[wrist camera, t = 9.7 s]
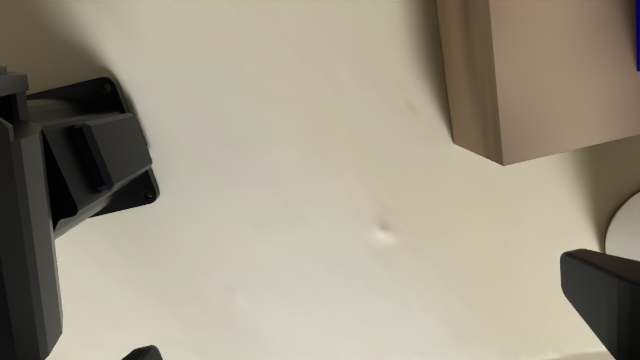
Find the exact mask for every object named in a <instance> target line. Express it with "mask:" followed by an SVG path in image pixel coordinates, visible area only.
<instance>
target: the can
mask: <svg viewBox="0 0 640 360" xmlns="http://www.w3.org/2000/svg"><path fill="white" fill-rule="evenodd" d="M605 247H606V254H610V255H614V256H619V257H623V258H628V259H632V260H637V261H640V192H638V193H636V194H635V195H633V196H632V197H630V198H629V199H628V200H627V201H625V202H624V203H623V204H622V205H621V206H620V208H619V209H618V210H617V211H616V213H615V214H614V216H613V217H612V219H611V221H610V223H609V225H608V228H607V232H606V237H605Z"/></svg>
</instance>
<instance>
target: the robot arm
mask: <svg viewBox="0 0 640 360" xmlns="http://www.w3.org/2000/svg"><path fill="white" fill-rule="evenodd" d="M105 83H108V84H109V85H110V86H111V91H110V92H109V93H108V92H107V91H106V90H105V88H104V86H105ZM28 90H29V87H28V79H27V74H24V73H14V72H7V67H6V66H0V360H45V359H46V358H47V357H48V356H49V354H50V353H51V351H52V349H53V348H54V346H55V344H56V343H57V341H58V339H59V337H60V336H61V334H62V327H63V311H62V302H61V294H60V285H59V276H58V268H57V259H56V250H55V242H54V240H55V239H57V238H58V237H60V236H61V235H63V234H64V233H66V232H67V231H69V230H70V229H72V228H73V227H75V226H76V225H78V224H79V223H81V222H83V221H84V220H86V219H87V218H91V217H95V216H100V215H104V214H108V213H112V212H117V211H121V210H125V209H129V208H134V207H138V206H142V205H146V204H151V203H153V202H154V201H156V200H157V199H158V197H159V195H160V192H159V188H158V185H157V183H156V180H155V178H154V175H153V172H152V170H151V165H152V159H151V156H150V154H149V151H148V148H147V146H146V143H145V140H144V138H143V135H142V132H141V130H140V127H139V124H138V122H137V119H136V117H135V116H134V115H132V114H131V113H130V111H129V109H128V106H127V103H126V101H125V98H124V95H123V93H122V90H121V87H120V85H119V83H118V81H116V80H115V79H114V78H111V77H100V78H96V79H92V80H88V81H84V82H79V83H75V84H71V85H67V86H63V87H59V88H55V89H51V90H47V91H43V92H38V93H34V94H30V95H26V91H28ZM145 190H149V191H150V192H151V193H152V197H149V196H147V195H146V194H145ZM560 273H561V287H562V291H563V293H564V295H565V297H566V298H567V299H568V301H569V302H570V303H571V304H572V306H573V307H574V308H575V310H576V311H577V312H578V313H579V315H580V316H581V317H582V318H583V320H584V321H585V322H586V323H587V325H588V326H589V327H590V328H591V330H592V331H593V332H594V333H595V335H596V336H597V337H598V339H599V340H600V341H601V342H602V344H603V345H604V346H605V347H606V349H607V350H608V351H609V352H610V353H611V355H612V356H613V357H614V358H615V359H616V360H640V261H637V260H632V259H628V258H623V257H619V256H614V255H610V254H605V253H601V252H596V251H592V250H587V249H576V250H572V251H567V252H564V253H563V254H562V255H561V257H560ZM122 360H163V359H162V356H161V354H160V352H159V350H158V348H157V347H156V346H154V345H149V346H145V347H140V348H137V349H134V350H133V351H132V352H130V353H129V354H128V355H127V356H125V357H124V358H123V359H122Z"/></svg>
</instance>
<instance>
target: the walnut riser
mask: <svg viewBox="0 0 640 360" xmlns="http://www.w3.org/2000/svg"><path fill="white" fill-rule="evenodd" d="M436 7H437V15H438V23H439V31H440V39H441V47H442V54H443V62H444V70H445V78H446V86H447V94H448V102H449V110H450V118H451V126H452V133H453V141H454V144H456V145H458V146H460V147H463V148H465V149H467V150H469V151H471V152H474V153H476V154H478V155H480V156H483V157H485V158H487V159H489V160H491V161H494V162H496V163H498V164H500V165H503V166H506V165H510V164H514V163H519V162H523V161H527V160H531V159H536V158H540V157H544V156H549V155H553V154H557V153H562V152H566V151H570V150H575V149H579V148H583V147H587V146H592V145H596V144H600V143H605V142H609V141H613V140H618V139H622V138H626V137H630V136H635V135H639V134H640V72H637V49H636V1H635V0H436Z"/></svg>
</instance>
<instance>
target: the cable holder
mask: <svg viewBox="0 0 640 360" xmlns="http://www.w3.org/2000/svg"><path fill="white" fill-rule="evenodd" d="M635 1H636V49H637V72H640V0H635Z"/></svg>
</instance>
